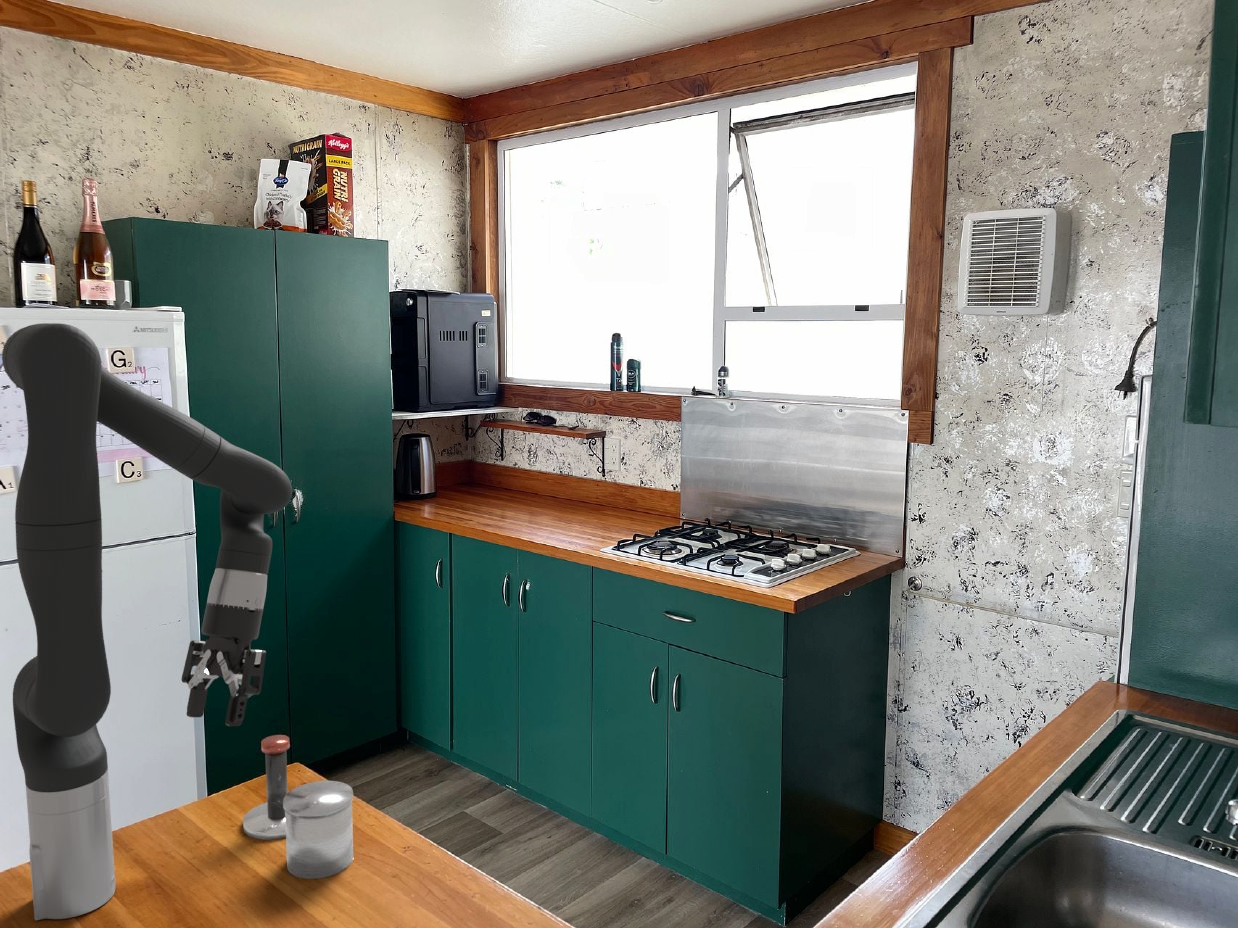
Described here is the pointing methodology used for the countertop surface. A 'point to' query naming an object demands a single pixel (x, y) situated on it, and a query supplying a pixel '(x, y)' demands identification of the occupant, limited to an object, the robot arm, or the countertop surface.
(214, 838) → the countertop surface
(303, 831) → the pot
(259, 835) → the lid
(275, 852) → the countertop surface
